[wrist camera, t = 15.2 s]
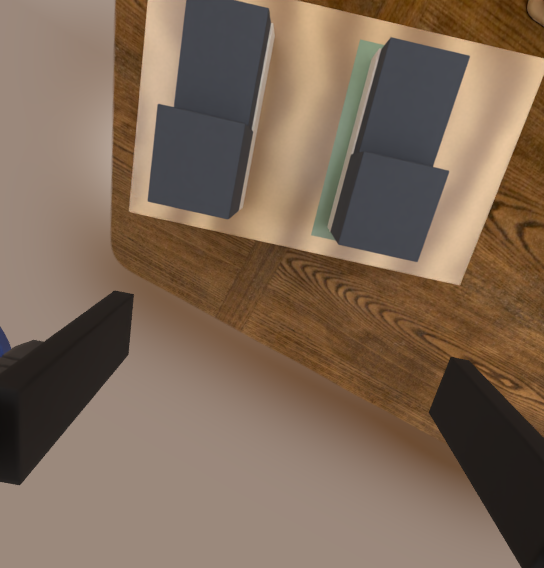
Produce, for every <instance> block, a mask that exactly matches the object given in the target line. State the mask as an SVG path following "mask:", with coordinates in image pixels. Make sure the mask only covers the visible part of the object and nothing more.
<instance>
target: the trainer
mask: <svg viewBox="0 0 544 568" xmlns="http://www.w3.org/2000/svg"><path fill="white" fill-rule="evenodd" d="M469 59H470V56H469V55H465V54H461V53H457V52H452V51H448V50H444V49H440V48H435V47H431V46H427V45H423V44H418V43H414V42H410V41H406V40H401V39H397V38H393V37H390V39H389V40H388V41H387V42H386V44H385V45H384V46H383V48H382V49H379V50H378V51H377V52H376V54H375V55H374V56H373V58H372V59H371V63H370V66H369V70H368V74H367V78H366V81H365V85H364V89H363V93H362V97H361V100H360V104H359V108H358V112H357V116H356V119H355V123H354V127H353V131H352V135H351V138H350V142H349V146H348V150H347V154H346V157H345V161H344V165H343V169H342V173H341V176H340V180H339V184H338V188H337V192H336V195H335V199H334V203H333V207H332V211H331V214H330V218H329V222H328V226H327V227H328V229H329V231H330V232H331V234H332V235H333V237H334V239H335V240H336V242H337V243H338V245H342V246H346V247H351V248H355V249H359V250H364V251H368V252H373V253H377V254H382V255H386V256H391V257H395V258H400V259H404V260H409V261H413V262H418V260H419V257H420V254H421V251H422V248H423V246H424V243H425V240H426V237H427V234H428V231H429V229H430V226H431V223H432V220H433V217H434V214H435V212H436V209H437V206H438V203H439V200H440V197H441V195H442V192H443V189H444V186H445V183H446V180H447V177H448V175H449V170H444V169H440V168H436V167H433V165H434V162H435V159H436V157H437V154H438V151H439V148H440V145H441V142H442V139H443V136H444V133H445V130H446V127H447V124H448V121H449V118H450V115H451V112H452V109H453V106H454V103H455V100H456V97H457V94H458V91H459V88H460V85H461V82H462V79H463V76H464V73H465V71H466V68H467V65H468V62H469Z"/></svg>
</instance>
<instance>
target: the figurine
mask: <svg viewBox="0 0 544 568" xmlns="http://www.w3.org/2000/svg"><path fill="white" fill-rule="evenodd" d="M527 10H528V13H529V15H530V16H531V17H532V18H533V19H534V20H535V21H537V22H538V23H539V24H541V25H542V26H544V0H528V5H527Z"/></svg>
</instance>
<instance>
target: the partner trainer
mask: <svg viewBox="0 0 544 568" xmlns="http://www.w3.org/2000/svg"><path fill="white" fill-rule="evenodd" d="M274 38H275V34H274V26H273V23H271V19H270V11H269V8H266V7H262V6H258V5H254V4H249V3H245V2H241V1H237V0H186V7H185V15H184V24H183V32H182V41H181V49H180V57H179V66H178V74H177V83H176V91H175V100H174V107H171V106H167V105H162V104H158V105H157V115H156V124H155V134H154V143H153V153H152V162H151V172H150V181H149V191H148V200H147V201H148V202H151V203H156V204H160V205H165V206H169V207H174V208H178V209H183V210H187V211H192V212H196V213H201V214H205V215H210V216H214V217H219V218H223V219H230V218H231V217H232V216H233V215H234V214H236V213H237V212H238V211H239V210H240V209H242V208H243V204H244V198H245V193H246V188H247V182H248V177H249V172H250V166H251V161H252V155H253V150H254V145H255V139H256V134H257V129H258V123H259V118H260V113H261V107H262V102H263V97H264V91H265V86H266V81H267V75H268V70H269V65H270V59H271V54H272V49H273V43H274Z"/></svg>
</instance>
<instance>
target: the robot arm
mask: <svg viewBox="0 0 544 568" xmlns="http://www.w3.org/2000/svg"><path fill="white" fill-rule="evenodd" d="M133 297H134V294H130V293H125V292H119V291H113V292H112V293H111V294H109V295H108V296H107V297H105V298H104V299H102V300H101V301H100V302H98V303H97V304H95V305H94V306H93V307H91V308H90V309H89V310H88V311H86V312H84V313H83V314H82V315H80V316H79V317H78V318H76V319H75V320H74V321H72V322H71V323H69V324H68V325H67V326H65V327H64V328H63V329H61V330H60V331H58V332H57V333H55V334H54V335H53V336H51V337H50V338H49V339H47V340H46V341H45V342H41V341H37V340H32V341H29V342H27V343H23V344H21V345H18V346H15V347H14V348H12V349H11V350H9V351H8V352H6V353H5V354H3V355H2V357H0V482H4V483H10V484H16V485H20V484H21V483H22V482H23V481H24V480H25V478H26V477H27V476H28V475H29V474H30V473H31V471H32V470H33V469H34V468H35V467H36V465H37V464H38V463H39V462H40V461H41V459H42V458H43V457H44V456H45V454H46V453H47V452H48V451H49V450H50V448H51V447H52V446H53V445H54V444H55V442H56V441H57V440H58V439H59V438H60V436H61V435H62V434H63V433H64V432H65V430H66V429H67V428H68V426H70V424H71V423H72V422H73V421H74V420H75V418H76V417H77V416H78V415H79V413H80V412H81V411H82V410H83V408H85V406H86V405H87V404H88V403H89V401H90V400H91V399H92V398H93V397H94V395H95V394H96V393H97V392H98V391H99V389H100V388H101V387H102V386H103V384H104V383H105V382H106V381H107V380H108V379H109V377H110V376H111V375H112V374H113V372H114V371H115V370H116V369H117V368H118V366H119V365H120V364H121V363H122V362H123V360H124V359H125V358H126V357H127V356H128V353H129V342H130V330H131V320H132V308H133ZM429 414H430V415H431V417H432V419H433V420H434V422H435V424H436V425H437V427H438V429H439V430H440V432H441V434H442V435H443V437H444V439H445V440H446V442H447V444H448V445H449V447H450V449H451V450H452V452H453V454H454V455H455V457H456V459H457V460H458V462H459V464H460V465H461V467H462V469H463V470H464V472H465V474H466V475H467V477H468V479H469V480H470V482H471V484H472V486H473V487H474V489H475V491H476V492H477V494H478V495H479V497H480V499H481V501H482V502H483V504H484V506H485V507H486V509H487V510H488V512H489V514H490V516H491V517H492V519H493V521H494V522H495V524H496V526H497V527H498V529H499V531H500V532H501V534H502V536H503V537H504V539H505V541H506V542H507V544H508V546H509V547H510V549H511V551H512V552H513V554H514V556H515V557H516V559H517V561H518V563H519V564H520V566H521V567H522V568H544V438H543V437H542V436H541V435H540V434H539V433H538V432H537V431H536V430H535V429H534V427H533V426H532V425H531V424H530V423H529V422H528V421H527V420H526V419H525V418H524V417H523V416H522V415H521V414H520V413H519V412H518V411H517V410H516V409H515V408H514V407H513V406H512V405H511V404H510V403H509V402H508V401H507V400H506V399H505V397H504V396H503V395H502V394H501V393H500V392H499V391H498V390H497V389H496V388H495V387H494V386H493V385H492V384H491V383H490V382H489V381H488V380H487V379H486V378H485V377H484V376H483V375H482V374H481V373H480V372H479V371H478V370H477V369H476V367H475V366H474V365H473V364H472V363H471V362H470V361H469V360H464V359H459V358H454V357H451V358H450V360H449V363H448V365H447V368H446V370H445V373H444V375H443V378H442V380H441V383H440V385H439V388H438V390H437V393H436V395H435V398H434V400H433V403H432V406H431V408H430V411H429Z"/></svg>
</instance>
